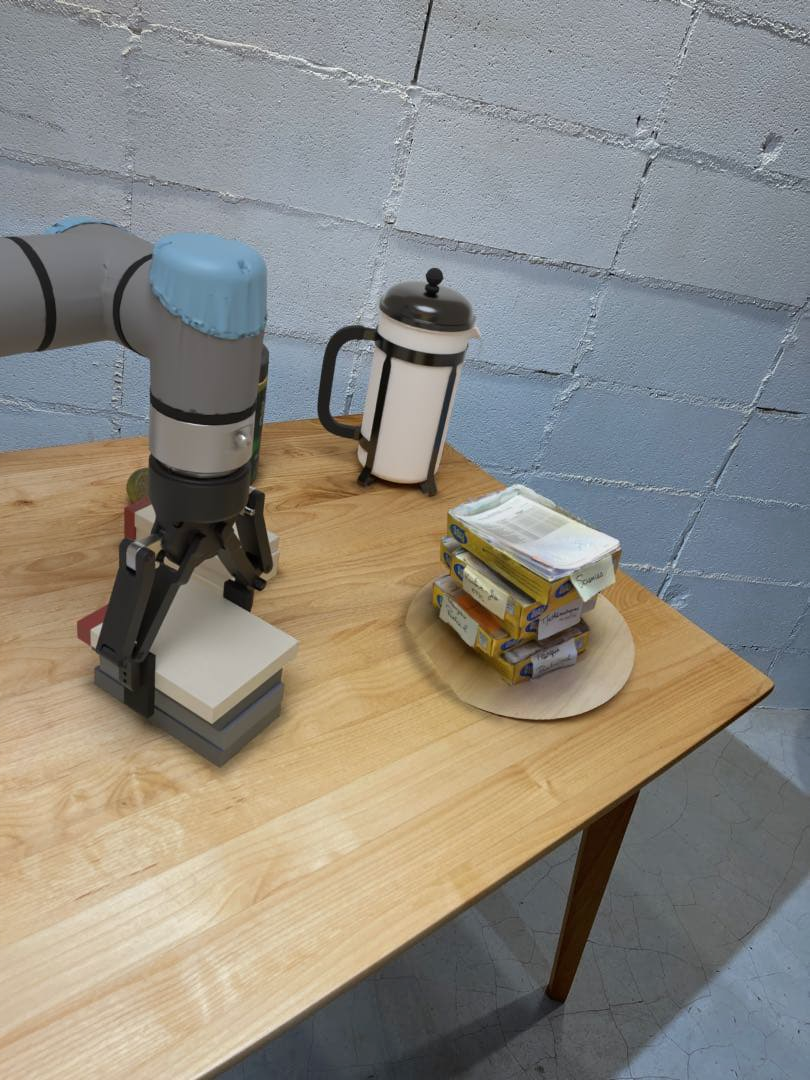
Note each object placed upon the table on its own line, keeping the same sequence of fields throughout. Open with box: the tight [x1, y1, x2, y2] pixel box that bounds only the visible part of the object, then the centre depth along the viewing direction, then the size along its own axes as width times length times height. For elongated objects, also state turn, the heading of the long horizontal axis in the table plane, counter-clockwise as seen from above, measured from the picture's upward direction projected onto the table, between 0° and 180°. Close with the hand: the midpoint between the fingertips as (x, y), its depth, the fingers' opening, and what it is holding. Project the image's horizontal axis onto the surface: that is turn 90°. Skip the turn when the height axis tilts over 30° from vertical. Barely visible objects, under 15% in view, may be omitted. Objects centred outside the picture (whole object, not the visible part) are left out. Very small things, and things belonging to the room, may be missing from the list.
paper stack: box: [405, 483, 636, 720], centre depth 86 cm, size 25×25×17 cm
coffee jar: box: [249, 343, 270, 485], centre depth 106 cm, size 10×8×19 cm
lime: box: [125, 467, 148, 504], centre depth 99 cm, size 4×5×5 cm
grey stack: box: [91, 646, 286, 769], centre depth 73 cm, size 15×8×7 cm, turn 59°
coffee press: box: [316, 267, 483, 497], centre depth 110 cm, size 17×16×30 cm
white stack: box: [123, 496, 281, 597], centre depth 91 cm, size 16×8×5 cm, turn 59°
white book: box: [76, 568, 300, 724], centre depth 70 cm, size 15×11×2 cm
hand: (189, 673), depth 73 cm, fingers closed on white book, 11 cm apart
